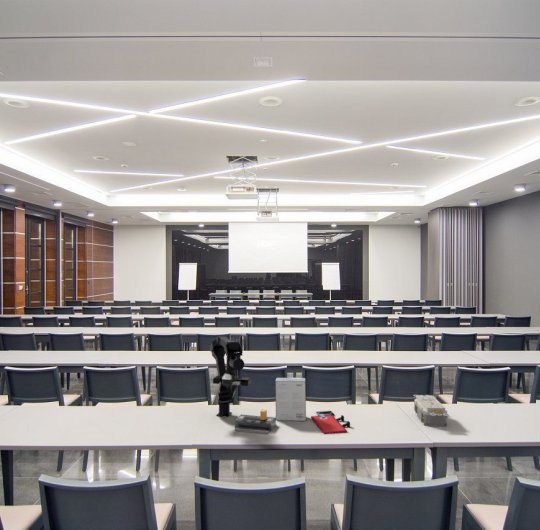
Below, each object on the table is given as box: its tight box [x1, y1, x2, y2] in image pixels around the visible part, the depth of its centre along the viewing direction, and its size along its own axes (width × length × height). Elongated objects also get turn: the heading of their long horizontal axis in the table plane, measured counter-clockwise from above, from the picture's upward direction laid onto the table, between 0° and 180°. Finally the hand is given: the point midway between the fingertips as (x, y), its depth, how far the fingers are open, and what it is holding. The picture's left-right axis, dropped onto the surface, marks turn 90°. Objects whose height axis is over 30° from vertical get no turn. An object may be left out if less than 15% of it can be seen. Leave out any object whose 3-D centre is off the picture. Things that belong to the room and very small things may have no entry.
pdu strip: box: [234, 414, 277, 432], centre depth 203 cm, size 9×18×4 cm, turn 74°
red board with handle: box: [310, 410, 351, 435], centre depth 209 cm, size 30×3×15 cm
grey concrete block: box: [412, 394, 450, 427], centre depth 212 cm, size 12×28×10 cm, turn 178°
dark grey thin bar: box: [234, 426, 269, 435], centre depth 196 cm, size 2×16×1 cm, turn 74°
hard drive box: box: [274, 377, 307, 422], centre depth 215 cm, size 16×8×20 cm, turn 84°
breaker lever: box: [259, 408, 268, 420], centre depth 202 cm, size 3×2×4 cm
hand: (232, 398), depth 209 cm, fingers closed
